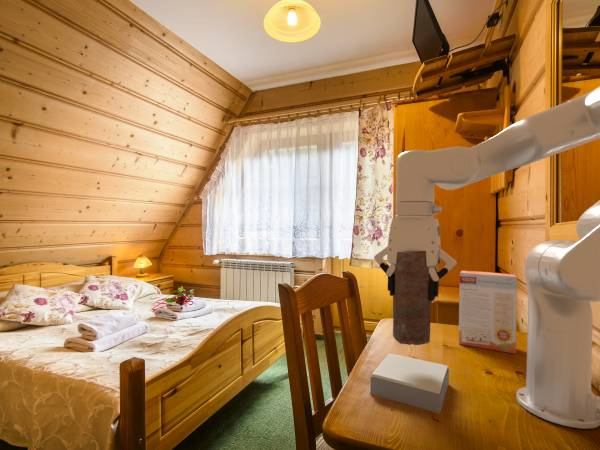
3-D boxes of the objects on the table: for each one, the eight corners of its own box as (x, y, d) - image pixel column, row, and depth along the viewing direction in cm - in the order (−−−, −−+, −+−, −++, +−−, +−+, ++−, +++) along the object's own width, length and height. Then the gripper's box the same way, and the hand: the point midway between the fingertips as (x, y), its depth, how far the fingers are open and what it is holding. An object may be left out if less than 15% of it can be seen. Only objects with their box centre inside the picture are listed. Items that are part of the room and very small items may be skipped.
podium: (448, 384, 71) (448, 365, 71) (440, 413, 60) (440, 391, 60) (388, 369, 77) (388, 352, 77) (370, 393, 66) (370, 373, 66)
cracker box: (515, 347, 93) (516, 273, 93) (516, 355, 88) (517, 276, 87) (459, 338, 100) (461, 269, 100) (458, 344, 95) (459, 271, 95)
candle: (434, 352, 64) (435, 249, 64) (395, 349, 65) (396, 248, 65) (425, 338, 72) (427, 246, 72) (390, 336, 73) (392, 245, 73)
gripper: (462, 212, 67) (460, 299, 67) (378, 212, 76) (376, 289, 76) (459, 211, 61) (456, 307, 61) (367, 210, 69) (365, 295, 70)
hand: (412, 296), depth 68 cm, fingers closed on candle, 7 cm apart
